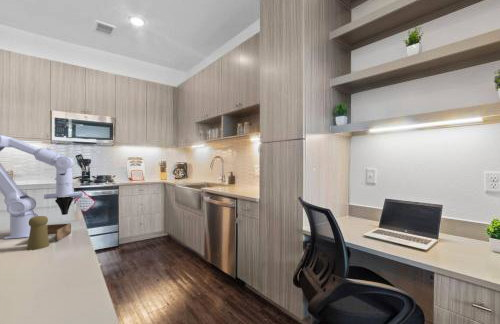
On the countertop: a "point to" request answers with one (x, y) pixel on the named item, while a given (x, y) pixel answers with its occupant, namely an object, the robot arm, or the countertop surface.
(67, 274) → the countertop surface
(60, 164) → the robot arm
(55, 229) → the wooden bracket shelf
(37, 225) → the cork
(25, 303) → the countertop surface
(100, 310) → the countertop surface
